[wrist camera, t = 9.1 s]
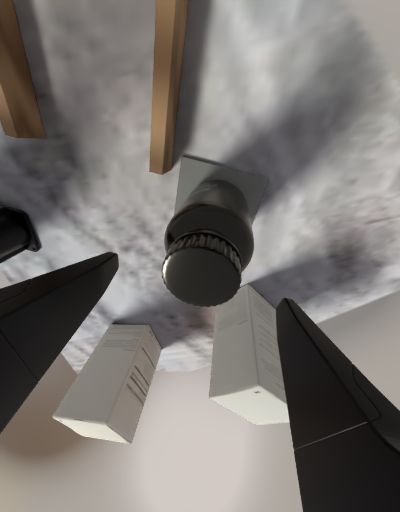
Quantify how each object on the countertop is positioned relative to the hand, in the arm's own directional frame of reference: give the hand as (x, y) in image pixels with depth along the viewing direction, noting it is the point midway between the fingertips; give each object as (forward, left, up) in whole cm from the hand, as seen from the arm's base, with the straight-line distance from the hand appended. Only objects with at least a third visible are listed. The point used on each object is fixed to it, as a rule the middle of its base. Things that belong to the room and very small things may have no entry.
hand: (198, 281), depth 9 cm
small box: (-15, -9, -13) cm, 22 cm away
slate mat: (-1, 0, -13) cm, 13 cm away
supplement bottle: (-1, 0, -13) cm, 13 cm away
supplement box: (-32, +9, -13) cm, 35 cm away
